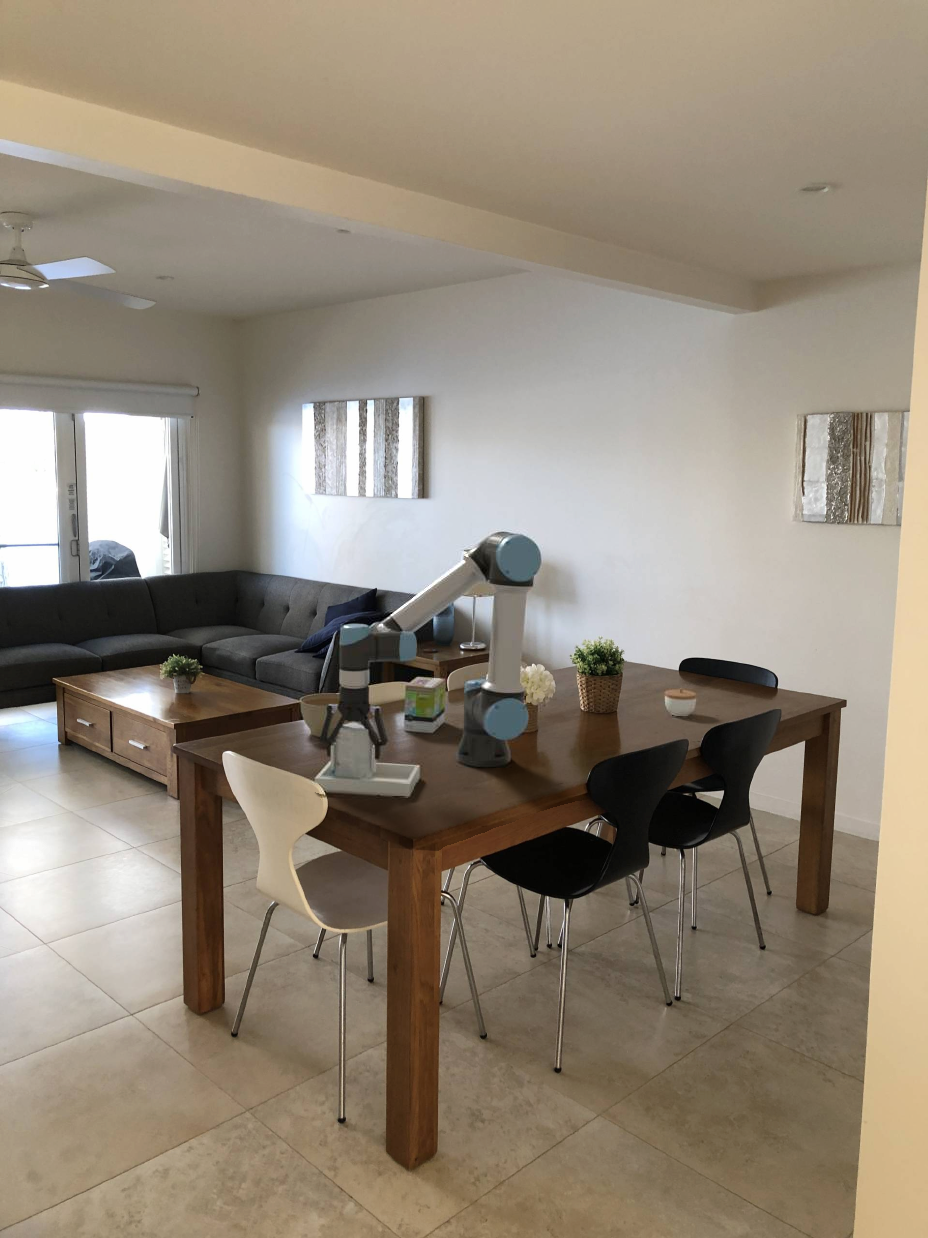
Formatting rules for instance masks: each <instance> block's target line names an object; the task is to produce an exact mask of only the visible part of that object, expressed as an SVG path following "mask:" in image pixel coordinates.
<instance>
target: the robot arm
mask: <svg viewBox="0 0 928 1238" xmlns="http://www.w3.org/2000/svg"><path fill="white" fill-rule="evenodd" d="M541 564H542V553H541V550H540V548H539V546H538V545H537V543H536V542H535V541H534V540H533V539H531V538H529V537H528V536H527V535H524V534H521V533H513V532H508V531H497V532H495V533H492V534H490V535H488V536H487V537H485V538H484V539H483V540H481V541H480V542H478V543H477V544H476V545H474V547H472V548H471V549H470V550H468V551H467V552H465V553H464V554H463V556H462V561H460V562H459V563H457V564H456V565H455V566H454V567H452V568H451V569H450V570H448V571H447V572H446V573H445V574H443V575H442V576H441V577H439V578H438V579H436V580H435V581H434V582H432V583H431V584H429V586H427V587H426V588H424V589H423V590H421V592H419V593H418V594H416V595H415V596H413V598H411V599H410V600H408V601H407V602H406V603H404V604H403V605H402V606H401V607H399V608H398V609H397V610H395V611H394V612H393V613H392V614H390V615H389V616H387V617H386V618H384V619H383V620H382V621H376V622H374V623H372V624H371V625H368V624H364V623H348V624H344V625H343V626H341V628H340V634H339V643H338V644H339V678H338V681H339V684H340V685H339V690H338V691H339V693H338V694H339V704H338V705H333V704H329V705H328V706H327V717H326V720H325V723H324V727H323V730H322V733H321V737H319V742H320V743H324V744H326V756H327V757H330V760H331V770H334V769H335V742H334V741H335V737H336V735H337V733H338V731H339V730H340V728H341V727H342V726H343V724H344V723H345V721H346V720H347V721H348V722H354V723H359V722H360V723H361V724H360V725H363V726H364V728H365V729H368V735H369V737H370V739H371V740H372V742H373V747H372V760H371V773H374V772H375V771H376V763H377V761H378V760H380V758H381V750H382V749H381V747H383V746H386V745H387V743H388V742H389V739H388V736H387V733H386V729H385V725H384V722H383V718H382V707H381V706H380V705H377V706H371V704H370V687H369V686H368V685H369V684H370V663H371V662H373V663H375V662H401V663H402V662H406V661H413V660H414V659H416V657H417V649H418V645H417V644H418V642H417V636H416V634H415V632H416V631H417V630H418V629H420V628H421V627H423V626H424V625H425V624H426V623H428V622H430V621H431V620H432V619H433V618H435V617H436V616H437V615H438V614H440V613H441V612H443V611H444V610H445V609H447V608H448V607H449V606H451V605H452V604H453V603H455V602H456V601H457V600H459V598H461V597H462V596H464V595H465V594H466V593H469V591H470V590H473V588H474V587H476V586H477V585H478V584H481V583H482V584H486V583H487V582H488V584H489V586H490V587H491V588H492V589H493V604H492V615H491V616H492V617H491V631H490V642H489V643H490V645H489V656H488V657H489V658H488V670H487V672H488V673H487V678H485V679H483V678H482V679H472V680H468V681H466V682H465V684H464V691H463V694H464V699H463V732H462V736H461V739H460V742H459V744H458V747H457V751H456V760H457V762H458V763H460V764H463V765H466V766H469V767H475V768H476V767H479V768H495V767H502V766H505V765H508V764H509V763H510V762H511V750H510V748H509V744H508V740H512V739H515V738H517V737H518V736H520V735H521V734H522V733H523V732H524V731H525V729H526V728H527V726H528V723H529V711H528V709H527V706H526V704H524V702H525V693H526V692H525V691H526V690H525V689H526V688H525V687H524V685H523V684H522V683H521V681H520V680H521V673H522V671H521V669H522V659H523V647H524V646H523V644H524V634H525V633H524V632H525V619H526V607H527V594H528V593H529V592H530V590H532V589H533V588H534V581H535V576H536V574H538V572H539V570H540V568H541ZM337 709H338V710H339V712H340V713H341V715H342V717H341V718H340V720H339V722H338V724H337V725H336V727H335V729H334V730H333V732H332V734H331V735H330V737H327V735H328V732H329V728H330V725H331V722H332V718H333V715H334V713H335V712H336V710H337ZM369 712H371V714H372V716H374V722H375V725H376V728H377V731H378V734H377V733H376V730H375V728H374V727H373V725H372V724H371V722H370V719H369V717H368V714H369ZM372 729H373V730H372Z"/></svg>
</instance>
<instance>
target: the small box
mask: <svg viewBox="0 0 928 1238" xmlns="http://www.w3.org/2000/svg"><path fill="white" fill-rule="evenodd" d="M335 727H336V726H335ZM373 729H374V728H373ZM373 729H372V730H373ZM334 741H335V742H334V743H335V775H337V776H340V777H356V778H360V780H363V779H367V778H370V777H372V773H371V760H372V747H373V745H374V744H373V742H372V740H371V739H370V737H369V735H368V729H365V728H364V726H363V725H362V724H360V723H358V722H350V723H347V724H344V725H343V726H342V727H341V728H340V730H339V731H338V733H337V735H336V737H335V739H334Z"/></svg>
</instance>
